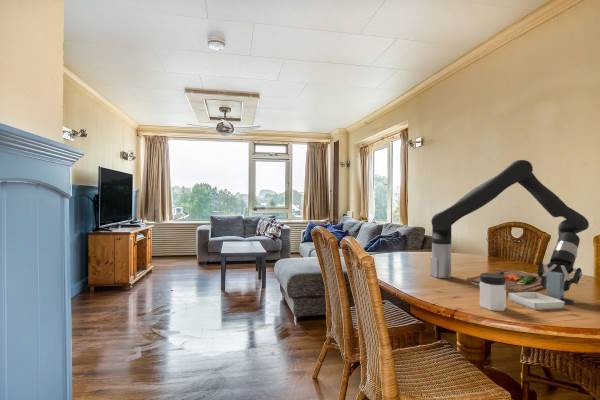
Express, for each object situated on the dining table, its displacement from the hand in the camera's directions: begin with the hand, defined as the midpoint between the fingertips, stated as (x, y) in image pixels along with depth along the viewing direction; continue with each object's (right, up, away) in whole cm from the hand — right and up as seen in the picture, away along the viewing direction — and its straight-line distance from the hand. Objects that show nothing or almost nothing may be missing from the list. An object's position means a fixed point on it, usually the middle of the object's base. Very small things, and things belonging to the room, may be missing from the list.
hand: (553, 287), depth 126 cm
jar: (-28, -6, -6) cm, 29 cm away
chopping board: (+5, -6, +31) cm, 32 cm away
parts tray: (-9, -5, -3) cm, 11 cm away
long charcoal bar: (+1, -5, +1) cm, 6 cm away
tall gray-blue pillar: (+1, -5, +1) cm, 6 cm away
